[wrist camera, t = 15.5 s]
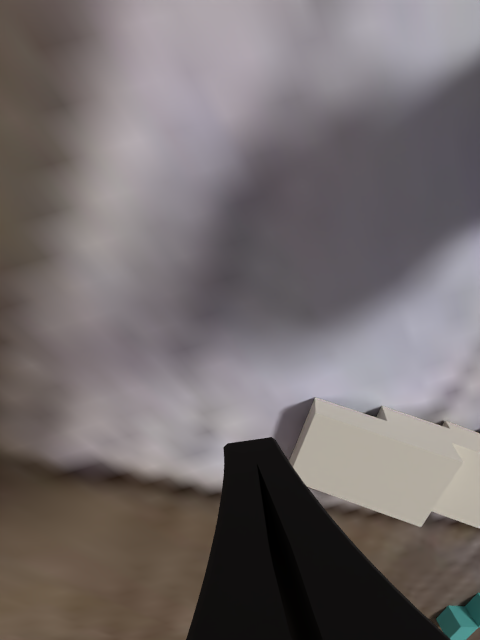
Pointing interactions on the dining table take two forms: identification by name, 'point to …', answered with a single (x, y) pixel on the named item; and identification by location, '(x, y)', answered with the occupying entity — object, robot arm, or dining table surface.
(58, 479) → the dining table surface
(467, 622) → the alien figure
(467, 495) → the ivory domino
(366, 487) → the ivory domino
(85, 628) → the dining table surface
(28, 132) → the dining table surface
